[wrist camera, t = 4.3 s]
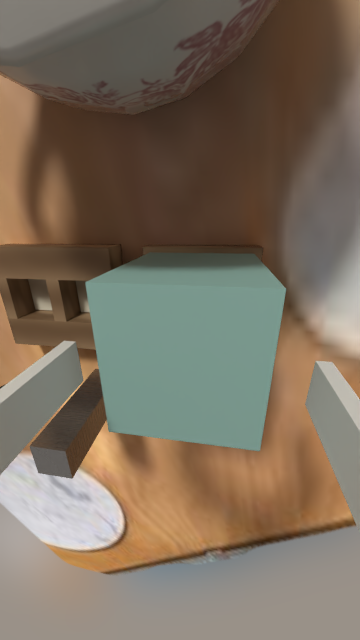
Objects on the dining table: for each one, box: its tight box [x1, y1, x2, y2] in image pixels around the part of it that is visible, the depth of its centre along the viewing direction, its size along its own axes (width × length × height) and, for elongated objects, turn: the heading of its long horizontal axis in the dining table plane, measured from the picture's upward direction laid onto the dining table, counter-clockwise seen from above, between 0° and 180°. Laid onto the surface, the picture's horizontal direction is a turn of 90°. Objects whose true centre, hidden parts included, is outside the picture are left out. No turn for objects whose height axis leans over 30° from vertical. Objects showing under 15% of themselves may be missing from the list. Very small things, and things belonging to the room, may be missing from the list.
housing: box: [85, 252, 286, 451], centre depth 19 cm, size 10×10×12 cm
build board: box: [0, 244, 122, 350], centre depth 27 cm, size 11×13×3 cm
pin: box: [30, 369, 107, 478], centre depth 27 cm, size 3×3×12 cm
